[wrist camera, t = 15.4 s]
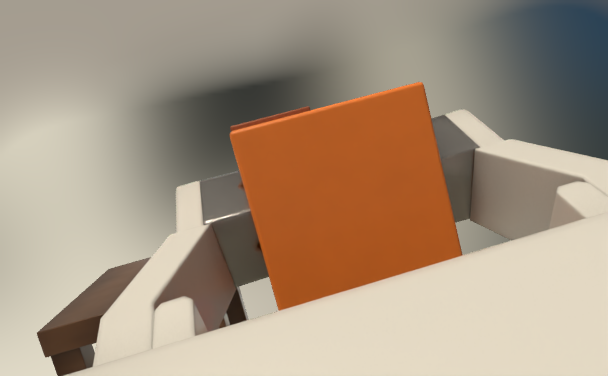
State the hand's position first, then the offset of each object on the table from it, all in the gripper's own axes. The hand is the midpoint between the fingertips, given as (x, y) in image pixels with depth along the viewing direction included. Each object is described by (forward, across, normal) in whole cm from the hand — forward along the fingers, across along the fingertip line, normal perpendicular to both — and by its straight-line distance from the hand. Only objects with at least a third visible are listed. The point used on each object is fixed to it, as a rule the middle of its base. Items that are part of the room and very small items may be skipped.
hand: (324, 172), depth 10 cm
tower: (+6, 0, +6) cm, 8 cm away
